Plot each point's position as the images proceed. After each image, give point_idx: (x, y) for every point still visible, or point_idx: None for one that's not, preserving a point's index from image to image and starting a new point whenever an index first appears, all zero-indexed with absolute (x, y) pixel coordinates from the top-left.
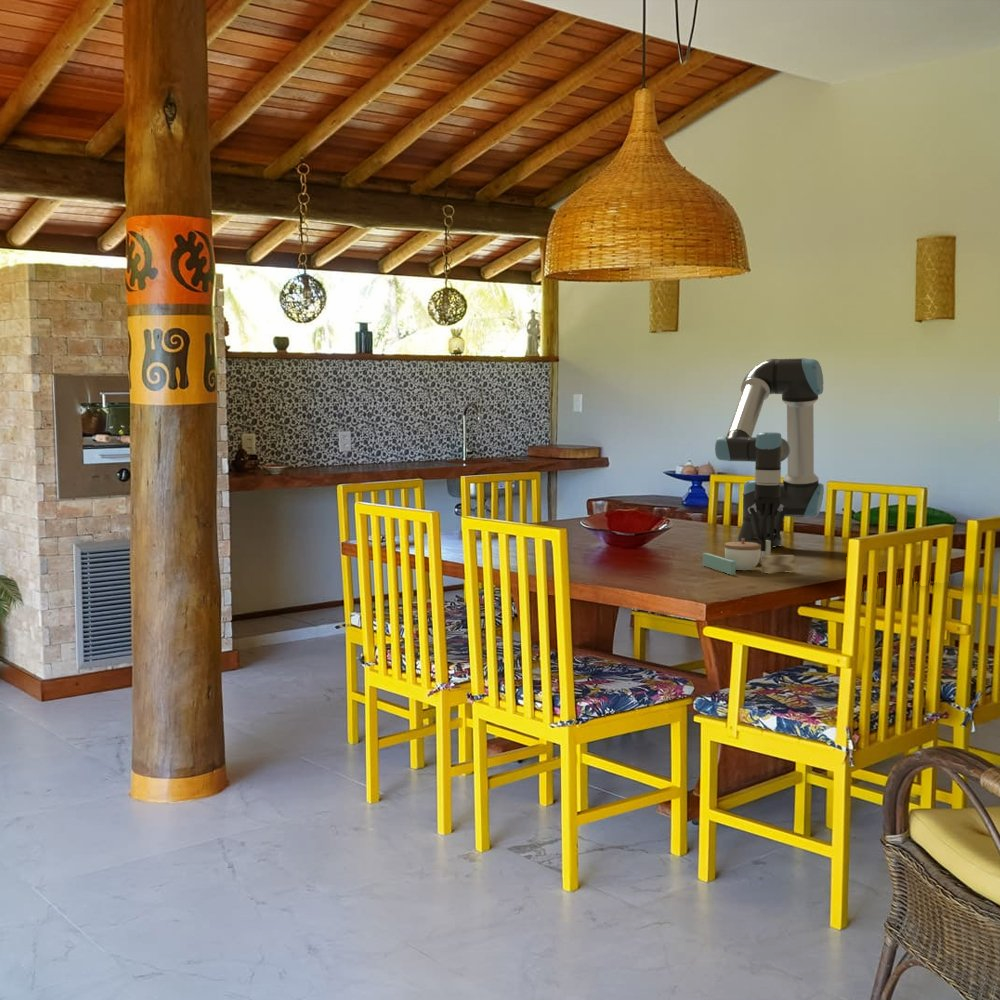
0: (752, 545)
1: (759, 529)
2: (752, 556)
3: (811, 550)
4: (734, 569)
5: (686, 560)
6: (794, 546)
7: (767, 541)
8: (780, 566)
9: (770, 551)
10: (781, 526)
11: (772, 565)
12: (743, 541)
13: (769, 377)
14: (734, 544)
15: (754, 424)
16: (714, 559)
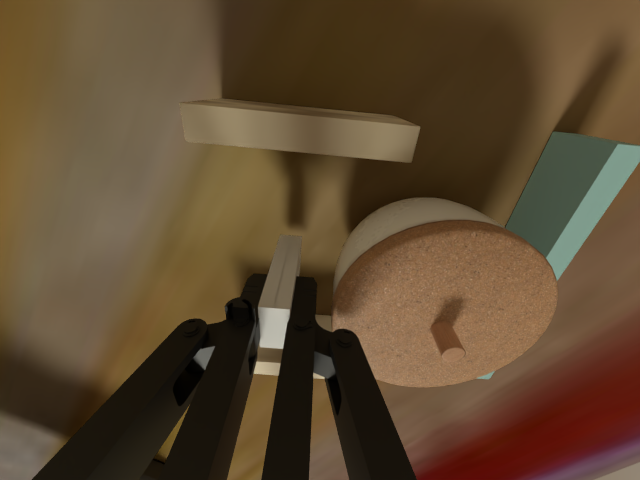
0: (454, 252)
1: (350, 397)
2: (441, 204)
3: (17, 418)
4: (581, 136)
5: (423, 406)
6: (52, 454)
7: (283, 306)
8: (299, 108)
9: (271, 263)
10: (104, 404)
11: (351, 114)
12: (451, 332)
13: None
14: (521, 315)
15: None
16: None
